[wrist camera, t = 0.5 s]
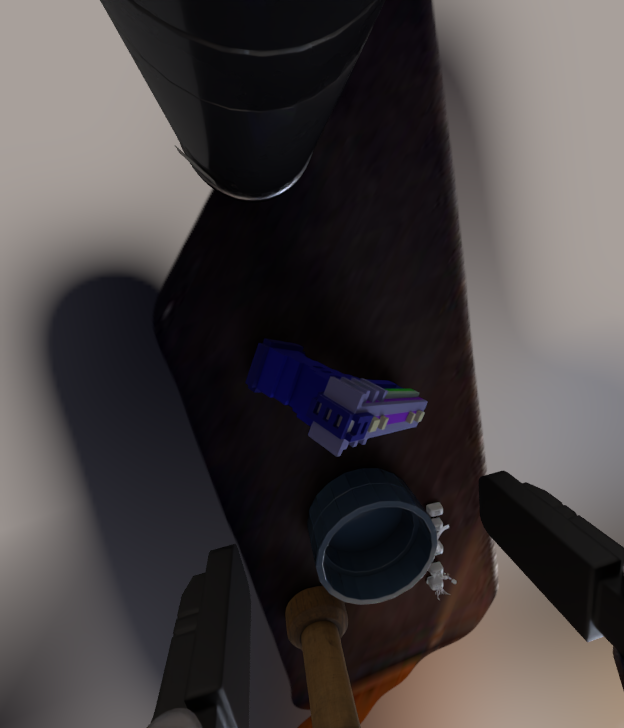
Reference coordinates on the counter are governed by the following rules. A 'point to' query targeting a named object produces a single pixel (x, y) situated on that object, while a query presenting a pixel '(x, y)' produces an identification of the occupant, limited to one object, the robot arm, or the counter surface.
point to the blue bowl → (370, 536)
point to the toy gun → (332, 397)
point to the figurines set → (437, 568)
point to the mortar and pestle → (323, 656)
